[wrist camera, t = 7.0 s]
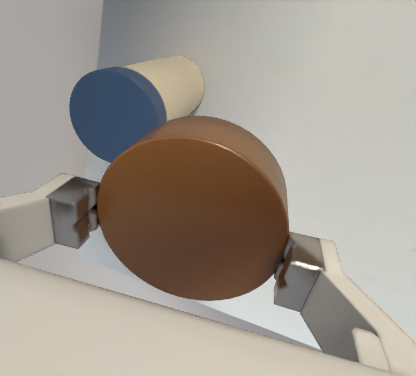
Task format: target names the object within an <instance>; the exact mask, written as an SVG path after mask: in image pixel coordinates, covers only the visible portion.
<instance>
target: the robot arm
mask: <svg viewBox="0 0 416 376" xmlns="http://www.w3.org/2000/svg"><path fill="white" fill-rule="evenodd" d="M99 186H100V183H98V182H95V181H91V180H88V179H84V178H80V177H76V176H73V175H69V174H65V173H64V174H63V173H62V174H59V175H58V176H56V177H55V178H53V179H51V180H50V181H48V182H47V183H45V184H44V185H42V186H41V187H39V188H37V189H36V190H34V191H33V192H31V193H27V192H24V193H20V194H15V195H10V196H5V197H0V376H416V343H415V342H414V341H413V340H412V339H411V338H410V337H409V336H408V335H407V334H406V333H405V332H404V331H403V330H402V329H401V328H400V327H399V326H398V325H397V324H396V323H395V322H394V321H393V320H392V319H391V318H390V317H389V316H388V315H387V314H386V313H385V312H384V311H383V310H382V309H381V308H380V307H379V306H378V305H377V304H376V303H375V302H373V301H372V300H371V299H370V298H369V297H368V296H367V295H366V294H365V293H364V292H363V291H362V290H361V289H360V288H359V287H358V286H357V285H356V284H355V283H354V282H353V281H352V280H351V279H350V278H348V277H345V276H344V272H343V269H342V266H341V262H340V259H339V255H338V252H337V248H336V245H335V243H334V242H333V241H329V240H325V239H320V238H315V237H310V236H306V235H302V234H298V233H293V232H289V237H288V240H287V242H286V245H285V248H284V250H283V254H284V258H283V259H282V260H280V261H279V263H278V266H277V268H276V271H275V273H274V278H275V280H276V284H275V286H274V304H275V305H279V306H282V307H285V308H288V309H292V310H295V311H298V312H301V313H300V314H301V316H302V317H303V319H304V321H305V322H306V324H307V326H308V328H309V329H310V331H311V333H312V334H313V336H314V338H315V339H316V341H317V343H318V345H319V346H320V348H321V350H322V351H323V352H320V351H316V350H313V349H309V348H306V347H302V346H299V345H295V344H292V343H288V342H285V341H281V340H278V339H274V338H271V337H268V336H265V335H261V334H258V333H254V332H251V331H248V330H244V329H241V328H237V327H234V326H230V325H227V324H223V323H220V322H217V321H213V320H210V319H207V318H203V317H200V316H197V315H193V314H190V313H186V312H183V311H180V310H176V309H173V308H169V307H166V306H163V305H159V304H156V303H152V302H149V301H145V300H142V299H139V298H135V297H132V296H128V295H125V294H121V293H118V292H115V291H111V290H108V289H104V288H101V287H97V286H94V285H91V284H87V283H83V282H80V281H77V280H73V279H70V278H66V277H63V276H60V275H56V274H53V273H50V272H46V271H43V270H39V269H36V268H32V267H29V266H25V265H22V264H19V263H15V262H17V261H20V260H22V259H24V258H26V257H29V256H31V255H33V254H35V253H37V252H39V251H41V250H44V249H46V248H48V247H50V246H52V245H54V244H55V243H56V244H60V245H64V246H68V247H72V248H76V249H79V248H80V247H81V246H82V245H83V244H84V242H85V241H86V240H87V239H88V238H89V237H90V236H89V232H90V231H93V230H96V229H97V228H98V227H99V226H100V223H99V219H98V212H97V202H98V200H97V196H98V191H99Z"/></svg>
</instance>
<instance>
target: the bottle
mask: <svg viewBox="0 0 416 376" xmlns="http://www.w3.org/2000/svg"><path fill="white" fill-rule="evenodd" d="M203 95H204V80H203V76H202V74H201V72H200V70H199V68H198V67H197V66H196V65H195V64H194V63H193V62H192V61H191V60H189V59H188V58H185V57H183V56H178V55H172V56H167V57H162V58H158V59H153V60H149V61H144V62H140V63H135V64H131V65H126V66H122V67H110V68H105V69H101V70H96V71H93V72H90V73H88V74H86V75H85V76H84V77H82V78H81V79H80V80H79V81H78V83H77V84H76V85H75V87H74V89H73V91H72V94H71V98H70V117H71V121H72V124H73V127H74V129H75V131H76V133H77V135H78V137H79V139H80V140H81V141H82V143H83V144H84V145H85V146H86V147H87V148H88V149H89V150H90V151H91V152H92V153H93V154H95V155H96V156H98V157H99V158H101V159H103V160H105V161H108V162H111V163H112V162H113V161H114V160H115V158H116V157H118V156H119V155H120V154H121V153H122V152H123V151H125V150H126V149H127V148H128V147H130V146H131V145H132V144H134V143H135V142H136V141H137V140H139V139H140V138H141V137H143V136H144V135H145V134H146V133H148V132H149V131H150V130H152V129H153V128H155V127H156V126H158V125H160V124H162V123H164V122H167V121H169V120H172V119H176V118H180V117H186V116H188V115H189V114H190V113H191V112H192V111H193V110H194V109H195V108H196V107H197V106H198V105H199V104H200V102H201V100H202V98H203Z"/></svg>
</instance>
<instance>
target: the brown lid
mask: <svg viewBox="0 0 416 376" xmlns="http://www.w3.org/2000/svg"><path fill="white" fill-rule="evenodd" d="M97 200H98V202H97V212H98V219H99V223H100V227H101V230H102V232H103V235H104V237H105V239H106V241H107V243H108V245H109V246H110V248H111V249H112V251H113V252H114V254H115V255H116V256H117V257H118V259H119V260H120V261H121V262H122V263H123V264H124V265H125V266H126V267H127V268H128V269H129V270H130V271H131V272H133V273H134V274H135V275H136V276H137V277H139V278H140V279H142V280H143V281H145V282H146V283H148V284H150V285H152V286H154V287H155V288H157V289H160V290H162V291H164V292H166V293H169V294H172V295H175V296H179V297H183V298H187V299H194V300H205V301H213V300H224V299H230V298H234V297H238V296H241V295H243V294H246V293H249V292H251V291H252V290H254V289H256V288H258V287H259V286H261V285H262V284H263V283H265V282H266V281H267V280H268V279H269V278H270V277H271V276H272V275H273V274H274V273H275V271H276V268H277V266H278V263H279V261H280V260H282V259H283V258H284V254H283V250H284V248H285V245H286V242H287V240H288V237H289V219H288V204H287V189H286V184H285V179H284V176H283V173H282V170H281V168H280V166H279V164H278V162H277V160H276V159H275V157H274V156H273V154H272V153H271V152H270V150H269V149H268V148H267V147H266V146H265V145H264V144H263V143H262V142H261V141H260V140H259V139H258V138H257V137H255V136H254V135H253V134H252V133H250V132H249V131H247V130H245V129H244V128H242V127H240V126H238V125H236V124H233V123H231V122H229V121H226V120H222V119H219V118H214V117H208V116H186V117H180V118H176V119H172V120H169V121H167V122H164V123H162V124H160V125H158V126H156V127H155V128H153V129H152V130H150V131H149V132H148V133H146V134H145V135H144V136H143V137H141V138H140V139H139V140H137V141H136V142H135V143H134V144H132V145H131V146H130V147H128V148H127V149H126V150H125V151H123V152H122V153H121V154H120V155H119V156H118V157H116V158H115V160H114V161H113V162H112V163H111V164H110V166H109V167H108V168H107V170H106V172H105V174H104V175H103V178H102V180H101V183H100V186H99V191H98V196H97Z"/></svg>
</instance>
